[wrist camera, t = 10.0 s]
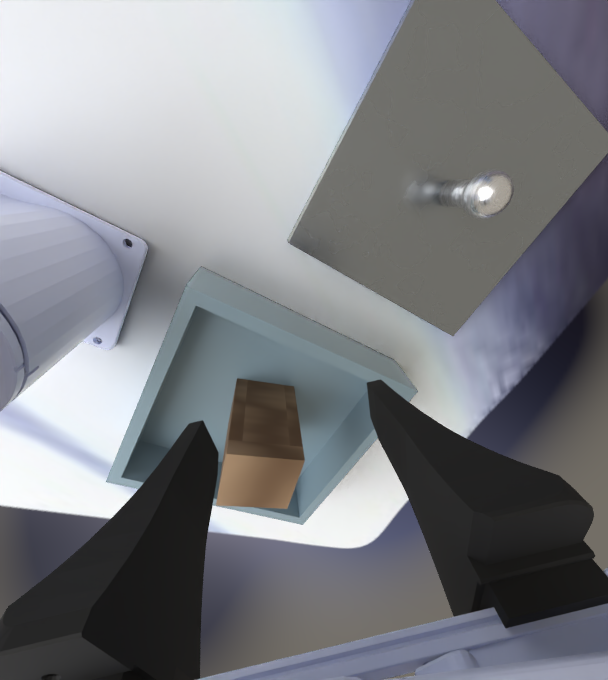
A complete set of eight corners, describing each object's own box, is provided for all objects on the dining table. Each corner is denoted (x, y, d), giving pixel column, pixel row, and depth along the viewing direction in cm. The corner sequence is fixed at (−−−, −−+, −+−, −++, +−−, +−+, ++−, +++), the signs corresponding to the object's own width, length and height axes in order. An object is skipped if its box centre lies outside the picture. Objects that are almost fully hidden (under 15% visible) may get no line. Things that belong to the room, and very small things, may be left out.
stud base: (287, 239, 18) (294, 259, 14) (433, -43, 13) (524, -165, 9) (445, 330, 23) (492, 367, 18) (598, 144, 18) (716, 130, 13)
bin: (128, 438, 24) (105, 482, 21) (200, 266, 18) (186, 285, 15) (298, 483, 29) (302, 524, 26) (395, 360, 24) (417, 391, 20)
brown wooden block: (228, 422, 24) (215, 505, 18) (236, 378, 22) (226, 454, 16) (281, 428, 25) (287, 508, 19) (293, 386, 23) (304, 460, 17)
